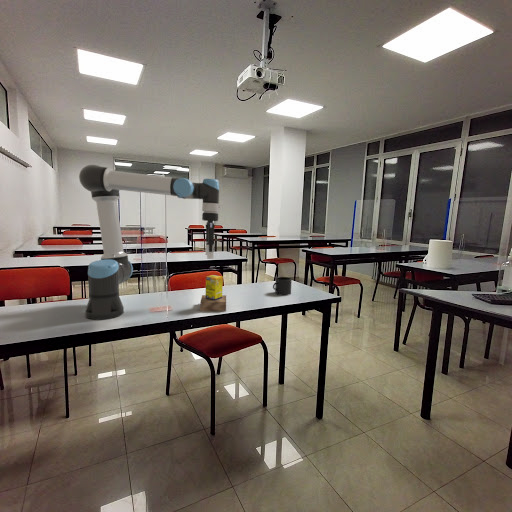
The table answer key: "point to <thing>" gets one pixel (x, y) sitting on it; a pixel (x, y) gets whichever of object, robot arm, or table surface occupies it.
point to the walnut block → (213, 304)
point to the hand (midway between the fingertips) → (209, 256)
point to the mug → (282, 285)
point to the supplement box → (214, 287)
